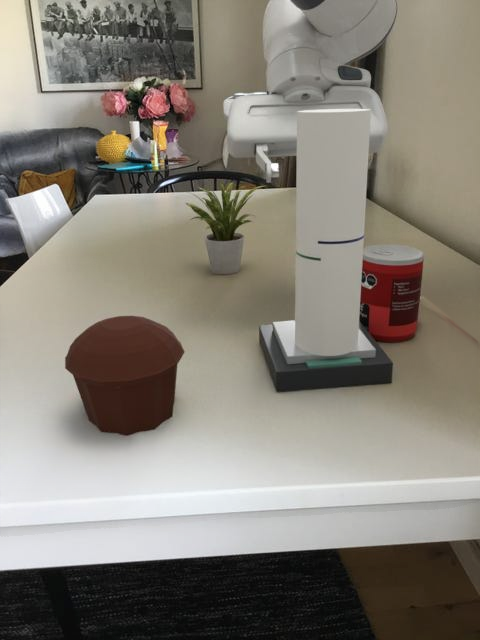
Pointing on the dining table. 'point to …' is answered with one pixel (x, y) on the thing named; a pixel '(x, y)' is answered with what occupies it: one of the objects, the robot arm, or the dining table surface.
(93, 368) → the muffin
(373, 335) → the canned food
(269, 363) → the kitchen scale
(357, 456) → the dining table surface
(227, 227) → the house plant
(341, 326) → the cylindrical container
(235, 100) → the robot arm
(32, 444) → the dining table surface
